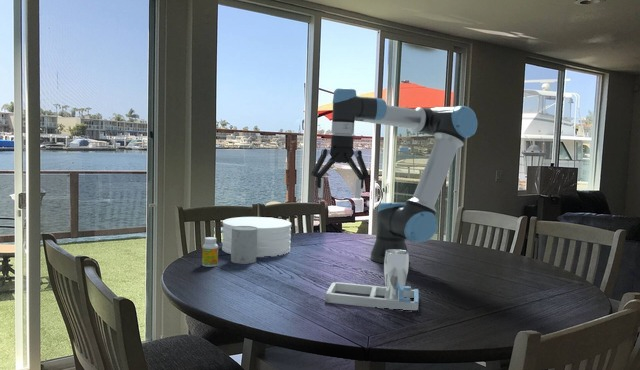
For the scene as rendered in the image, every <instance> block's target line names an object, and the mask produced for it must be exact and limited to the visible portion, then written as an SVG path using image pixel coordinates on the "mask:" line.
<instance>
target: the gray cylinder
mask: <svg viewBox="0 0 640 370" xmlns="http://www.w3.org/2000/svg"><path fill="white" fill-rule="evenodd" d="M257 229H258V228H257V227H253V226H235V227H232V243H231V254H230V262H232V263H234V264H240V265H241V264H242V265H245V264H246V265H248V264H249V263H250V264H254V263H257V257H256V254H257Z"/></svg>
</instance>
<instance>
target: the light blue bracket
mask: <svg viewBox="0 0 640 370" xmlns="http://www.w3.org/2000/svg"><path fill="white" fill-rule="evenodd" d="M411 287H412V286H409V285H407V286H406V285H405V287H404V290H408V291H411V290H412V288H411ZM413 290H414V299H413V301H414V303H418V305H419V303H420V302H419V300H420V299H419V289H418V288H414V289H413ZM410 301H411V299H410V298H404V297H399V302H409V303H410Z"/></svg>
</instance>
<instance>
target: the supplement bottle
mask: <svg viewBox="0 0 640 370" xmlns="http://www.w3.org/2000/svg"><path fill="white" fill-rule="evenodd" d="M201 257H202V258H201V259H202V260H201V261H202V262H201V265H202V266H203V267H205V268H206V267H208V268H213V267H216V266H217V267H218V260H219V245H218V244H217V237H214V236H213V237H212V236H208V237H207V236H206V237H205V238H204V244H203V245H202V255H201Z"/></svg>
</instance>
